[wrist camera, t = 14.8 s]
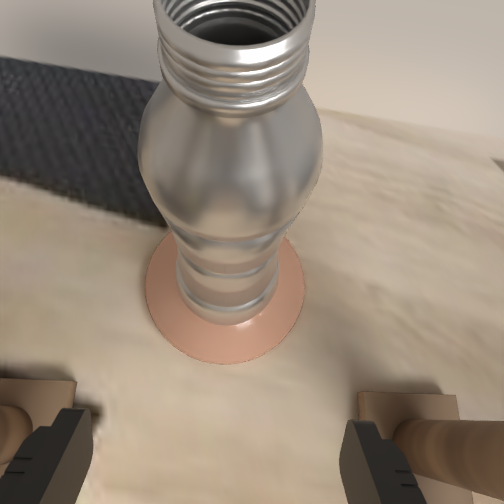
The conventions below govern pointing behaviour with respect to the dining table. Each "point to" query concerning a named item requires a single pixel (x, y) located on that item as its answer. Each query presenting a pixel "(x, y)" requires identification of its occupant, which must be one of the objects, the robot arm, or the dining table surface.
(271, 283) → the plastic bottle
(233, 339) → the terracotta coaster
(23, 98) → the dining table surface
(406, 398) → the post gate
